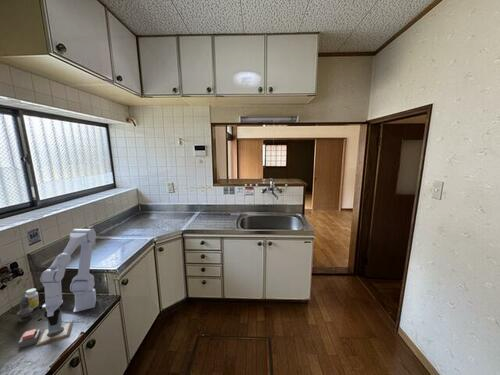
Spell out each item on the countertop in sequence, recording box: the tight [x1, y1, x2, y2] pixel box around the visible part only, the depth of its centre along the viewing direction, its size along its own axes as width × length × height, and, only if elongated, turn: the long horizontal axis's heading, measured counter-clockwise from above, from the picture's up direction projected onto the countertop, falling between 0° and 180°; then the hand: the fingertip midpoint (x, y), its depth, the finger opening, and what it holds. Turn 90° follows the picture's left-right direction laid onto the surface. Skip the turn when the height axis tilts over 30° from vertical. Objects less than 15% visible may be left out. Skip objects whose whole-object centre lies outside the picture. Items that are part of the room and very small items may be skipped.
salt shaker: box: [16, 295, 34, 322], centre depth 110 cm, size 6×6×12 cm
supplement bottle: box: [24, 287, 40, 309], centre depth 119 cm, size 5×5×10 cm
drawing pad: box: [36, 321, 74, 347], centre depth 101 cm, size 11×10×1 cm
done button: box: [21, 328, 37, 340], centre depth 97 cm, size 4×4×2 cm
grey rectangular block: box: [47, 306, 63, 332], centre depth 101 cm, size 4×4×9 cm
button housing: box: [18, 328, 41, 349], centre depth 97 cm, size 6×6×3 cm
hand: (55, 321), depth 101 cm, fingers closed on grey rectangular block, 4 cm apart
